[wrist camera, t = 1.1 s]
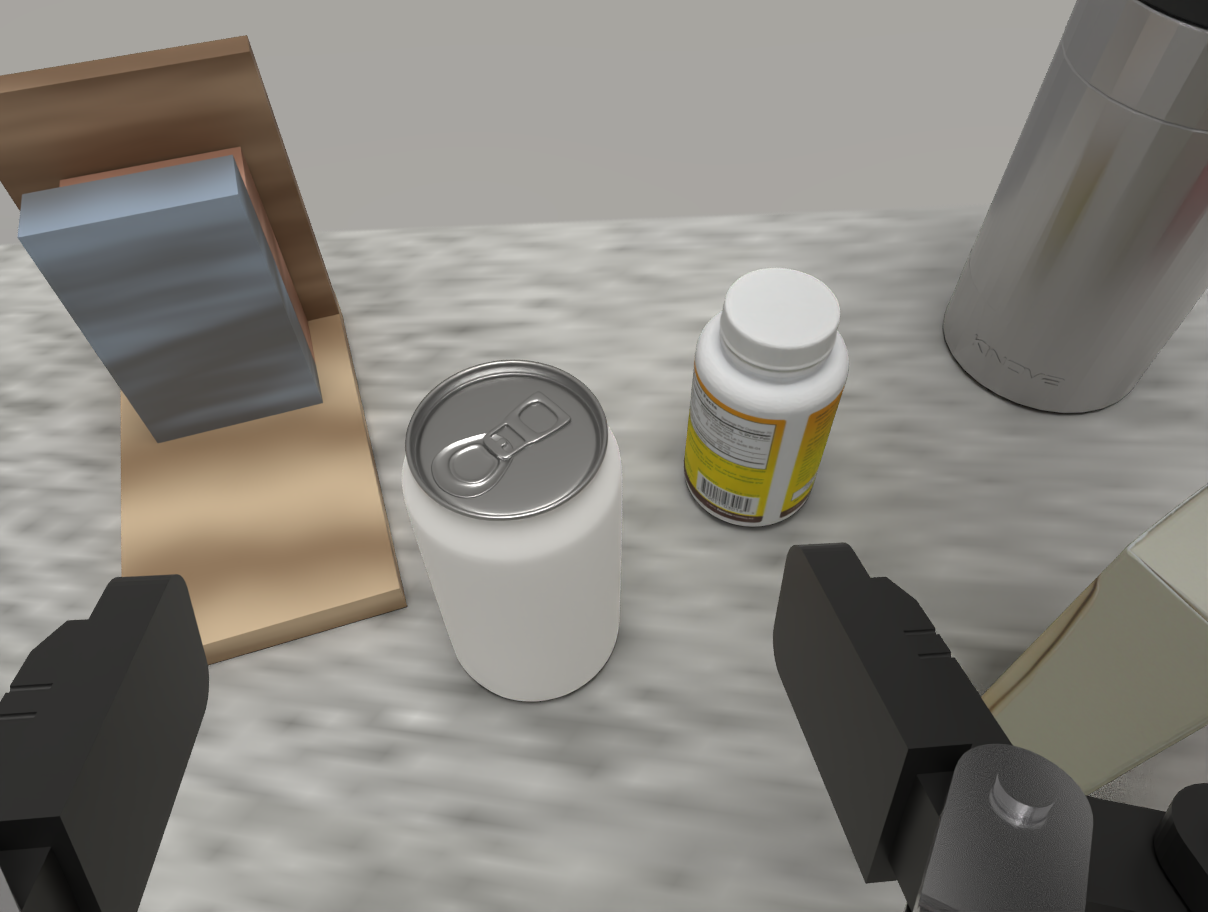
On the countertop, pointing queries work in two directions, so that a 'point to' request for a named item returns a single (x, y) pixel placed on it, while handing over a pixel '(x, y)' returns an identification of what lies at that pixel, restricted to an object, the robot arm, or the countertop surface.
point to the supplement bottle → (764, 396)
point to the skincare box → (1119, 659)
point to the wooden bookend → (206, 336)
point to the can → (519, 524)
